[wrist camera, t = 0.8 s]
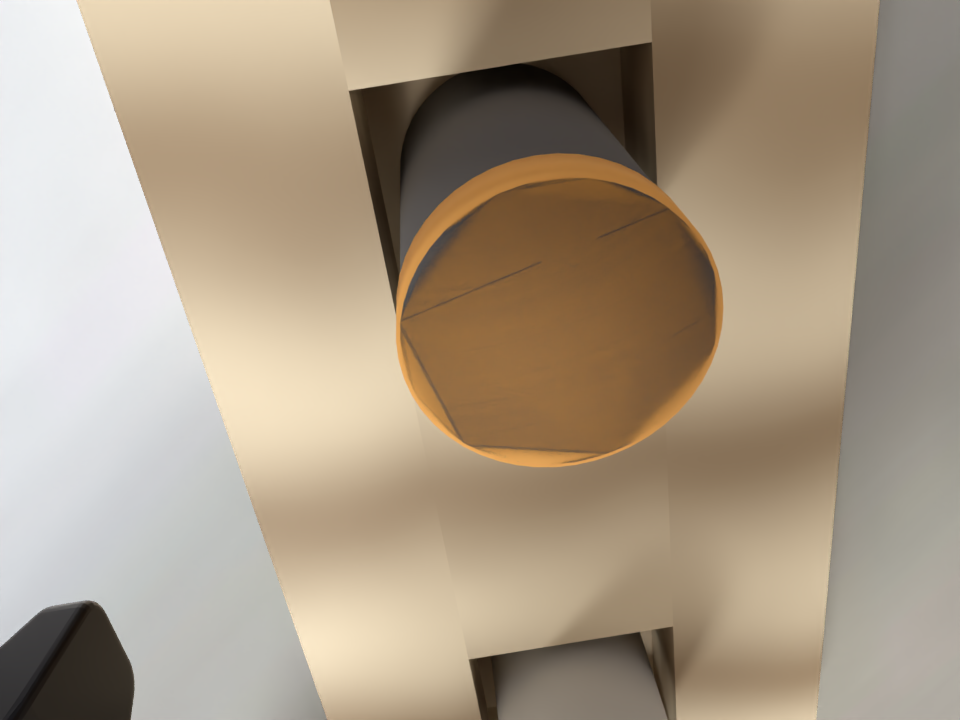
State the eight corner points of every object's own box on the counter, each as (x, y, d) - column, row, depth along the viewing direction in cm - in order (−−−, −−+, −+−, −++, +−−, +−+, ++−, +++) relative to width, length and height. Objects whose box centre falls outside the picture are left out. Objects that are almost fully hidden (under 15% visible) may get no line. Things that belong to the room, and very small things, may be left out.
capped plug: (613, 249, 18) (722, 441, 12) (417, 281, 18) (425, 489, 12) (599, 42, 16) (724, 147, 10) (378, 78, 16) (364, 204, 10)
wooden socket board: (768, 713, 26) (808, 805, 24) (383, 776, 26) (381, 874, 24) (810, -214, 14) (900, -233, 12) (107, -101, 14) (43, -95, 12)
